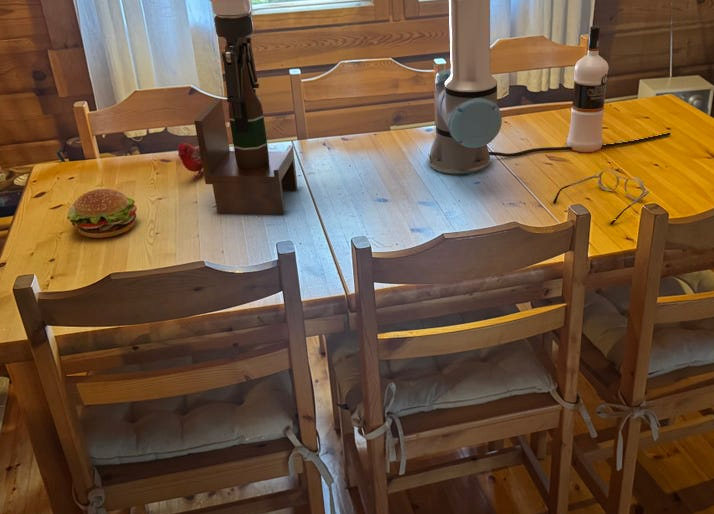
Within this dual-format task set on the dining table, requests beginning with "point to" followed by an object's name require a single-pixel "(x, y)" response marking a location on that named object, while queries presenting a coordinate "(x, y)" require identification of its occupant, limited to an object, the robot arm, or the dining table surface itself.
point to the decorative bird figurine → (190, 158)
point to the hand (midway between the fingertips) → (247, 125)
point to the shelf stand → (241, 170)
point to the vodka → (588, 98)
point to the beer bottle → (250, 130)
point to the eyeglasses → (610, 190)
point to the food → (103, 213)
